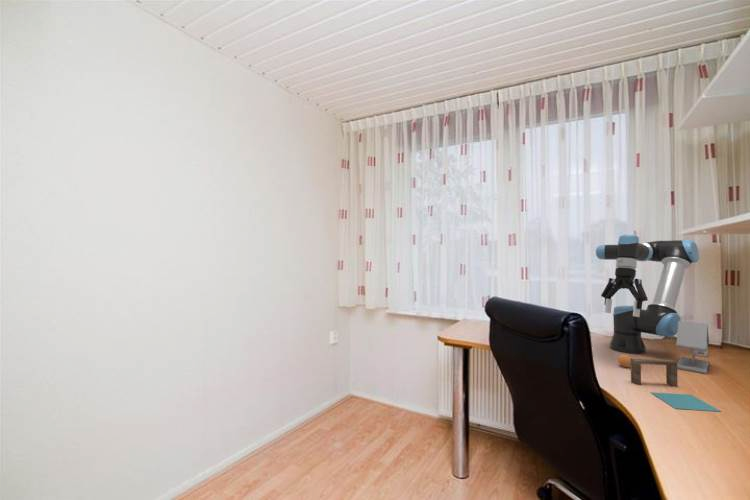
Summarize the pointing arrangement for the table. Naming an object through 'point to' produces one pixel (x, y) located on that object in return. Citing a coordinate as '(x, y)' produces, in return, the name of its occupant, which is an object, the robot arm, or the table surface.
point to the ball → (624, 360)
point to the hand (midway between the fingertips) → (621, 314)
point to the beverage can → (701, 352)
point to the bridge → (670, 364)
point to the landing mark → (684, 402)
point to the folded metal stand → (692, 345)
